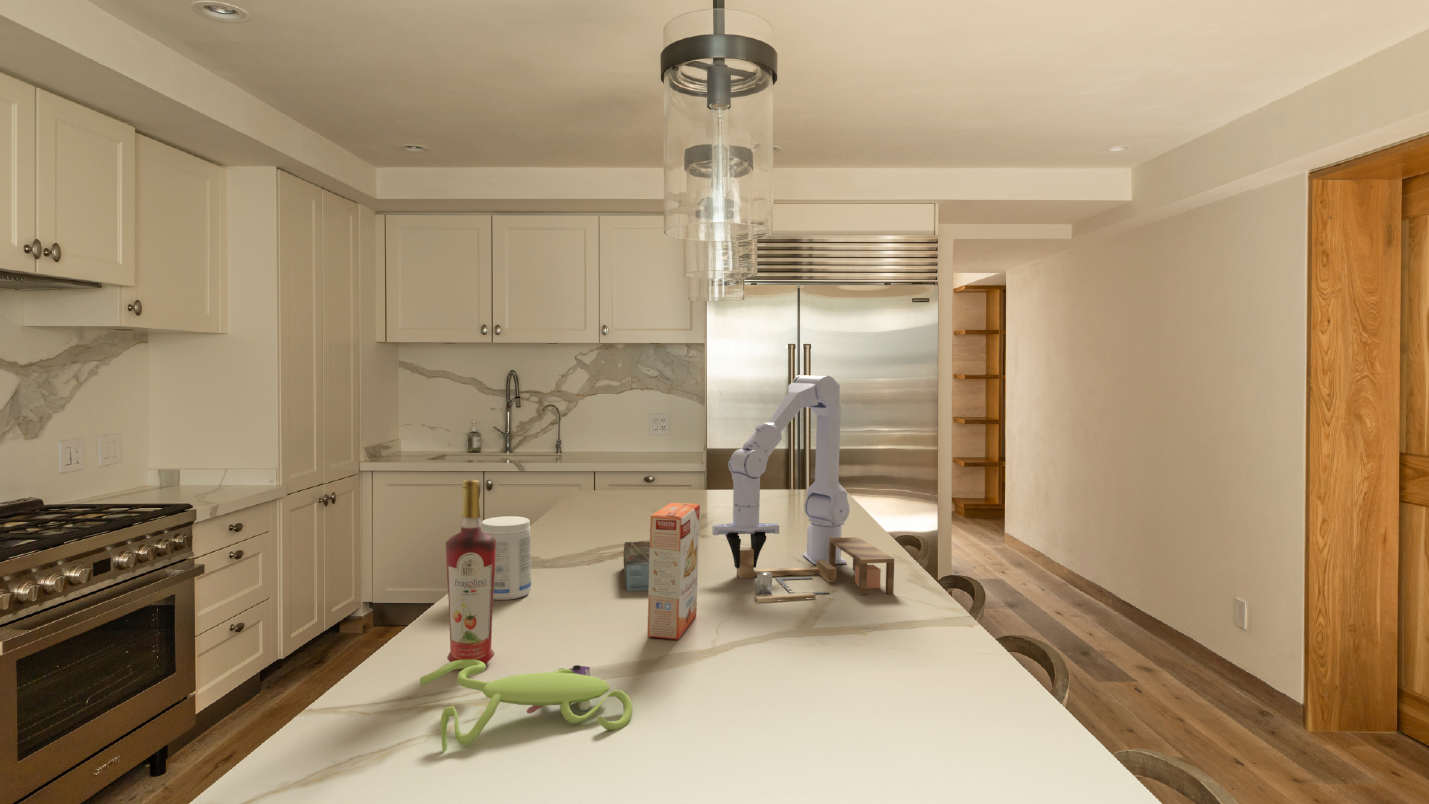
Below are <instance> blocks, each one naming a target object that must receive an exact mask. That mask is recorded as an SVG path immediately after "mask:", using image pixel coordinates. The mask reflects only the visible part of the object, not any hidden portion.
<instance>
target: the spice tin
mask: <svg viewBox="0 0 1429 804" xmlns="http://www.w3.org/2000/svg"><path fill="white" fill-rule="evenodd" d="M757 593H758V595H759V594H771V595H773V576H772V573H770V572H758V573H757V577H756V594H757Z"/></svg>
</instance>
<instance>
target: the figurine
mask: <svg viewBox="0 0 1429 804" xmlns="http://www.w3.org/2000/svg"><path fill="white" fill-rule="evenodd" d="M462 668H465V669H462ZM486 668H487V664H486V665H485V664H484V663H483V662H481V661H478V660H457V661H452V662H450V661H449V662H448V663H446V664H445V665H444V666H442V667H440V668H438V669H436V670H435V671H431V672H430V673H428V674H425V675H423V676H420V677H419V679H420V680H419V686H420V687H422V686H425V685H427V684H430V683H433V682H434V681H436V680H437V679H439V678H440V677H442V676H445V675H447V674H448V673H449V672H451V671H454V670H460V671H459V672H458V673H457V677H456V681H457V683H458V685H459V686H461V687H464V688H466V689H471V690H476V691H480V692H482V693H483V694H484V696H485V697H486V698H489V699H490V700H489V701H488V704H487V705H486V708H485V710H484V711H483V712H482V713H481V714H480V716H479V718H478V719H477V721H476V722H475V724H474V725H473V727H472V729H470V731H468V733H462V732H461V730H460V724H459V717H458V716H459V715H458V712H457V710H456V708H455V707H454V705H452V706H447V707H444V708H443V711H442V713H441V717H440V734H441V735H440V736H441V737H440V738H441V744H442V745H441V749H442V753H443V754H444V753H445V752H447V750H448V740H447V733H448V732H447V731H448V729H447V728H448V722H449V719H450V717H454V739H456V741H457V742H458V743H459V745H460V746H463V745H468V744H472V742H474V741H475V740H476V739H477V738H478V737H479V736H480V734H481V733H482V731H483V730H484V728H485V727H486V725H487V724H488V722H490V720H491V719H492V717H493V716H494V714H495V712H496V710H497V708H498V706H499V704H500V703H507V704H512V705H519V706H530V707H528V708H526V709H527V710H526V713H527V714H532V713H534V712H536V711H537V710H539V709H541V708H542V707H545V706H547V707H548V706H559V707H560V708H559V709H560V713H561V715H562V716H563V718H564V719H565V721H567V722H569V723H571V724H578V723H581V722H584V721H585V720H586V719H588V718H589V717H591V716H592V715H594V713H596V712H597V710H598V709H600V707H602V705H603V704H604V701H606V699H607V698H608V697H615V698H616V699H618V700H619V701H620V702H621V704H622V706H623V707H622V708H623V714H622V716H621V717H620V718H619V719H618V720H615V721H611V720H607V719H606V718H605V717H603V716H602V715H599V716H598V717H597V723H598V724H599V726H601V727H602V728H603V729H605V730H608V731H609V730H610V731H616V730H619V729H621V728H624V727H625V726H627V725H628V724H629V723H630V721H631V719H632V717H633V711H634V710H633V704H632V701H631V699H630V697H629V696H628V694H627V693H625V692H624V691H623V690H617V689H614V690H613V691H611V692H609V691H610V688H611V687H610V684H609V683H608V681H606V680H604V679H602V678H599V677H596V676H592V675H590V674H591V672H590V671H591V670H590V666H585V665H578V664H575V665H572V667H570V668H562V667H561V668H558V670H557V669H556V670H555V671H550V672H531V673H523V674H515V675H509V676H507V677H502V678H498V679H495V680H493V681H483V680H479V679H473V678H469V677H470V676H472V675H477V674H481V673H483V672H484V671H485V670H486ZM608 692H609V693H608ZM606 693H608V694H607V695H605V694H606ZM604 695H605V697H603V698H602V699H601V700H600V701H599V702H598V703H597V704H596V705H595V706H594V707H593V708H591V709H590V710H589V708H590V706H591V700H593V699H597V698H600V697H602V696H604ZM577 703H578V708H579V709H580V710H581V711H583V712H586V711H587V710H589V711H588V712H587V713H585V714H583V715H580V716H579V715H577V714H574V713H573V712H572V710H571V708H570V706H571V705H572V704H577Z"/></svg>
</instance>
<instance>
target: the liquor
mask: <svg viewBox="0 0 1429 804" xmlns="http://www.w3.org/2000/svg"><path fill="white" fill-rule="evenodd" d="M461 495H462V500H463V501H462V502H463V503H462V504H463V505H462V515H461V525H460V532H458V533H456V534H454V535H452V536H451V537H449V538H448V539H447V540H446V541H445V554H446V555H445V557H446V558H445V560H446V561H445V562H446V580H447V582H446V583H447V595H448V596H447V599H448V616H449V620H448V621H449V649H450V650H449V653H448V655H447V657H446V660H447V661H449V663H450V662H452V661H457V660H478V661H481V662H483V663H484V664H485V665H486V666H487V664H488V663H489V662H490V660H492V658H493V657H494V656H495V652H494V651H493V649H492V638H493V637H492V632H493V631H492V630H493V629H492V628H493V607H494V606H493V605H494V604H493V603H494V599H493V592H494V577H495V555H496V539H494V538H493V537H492V536H491V535H489V534H487V533H484V532H482V531H481V523H482V519H481V512H480V511H481V510H480V498H481V497H480V495H481V480H480V479H479V480H478V479H466V480H462V481H461ZM463 669H465V668H462V669H461V670H463Z"/></svg>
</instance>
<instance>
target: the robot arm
mask: <svg viewBox="0 0 1429 804" xmlns="http://www.w3.org/2000/svg"><path fill="white" fill-rule="evenodd" d="M840 387H841V386H840V384H839V383H838V381H836V379H835V378H834V377H833V376H830V375H805V374H799V375H796V376H795V377H794V378H793V380H792V382H791V383H790V384H788V385H787V394H786V396H785V397H784V398H783V400H782V402H781V403H780V404H779V406H778V407H777V409H776V410H775V412H774V414H773V415H772V417H771V418H769V419H770V420H769V421H768V422H762V423H760V424H757V425H756V426H755V429H754V430H755V431H754V432H753V434H752V435H751V436H750V437H749V438H748V440H747V441H745V442H744V444H743V446H742V447H741V448H739V449H736V450H735V451H734V452H733V453H732V454H731V456H730V457H729V461H727V466H728V470H729V471H730V473H731V480H732V482H733V484H732V486H733V487H732V488H733V491H732V493H733V494H732V499H733V500H732V522H731V523H720V524H712V525H711V527H712V528H711V534H712V536H719V535H725V538H726V540H727V542H728V545H729V548H730V550H731V553H732V558H733V563H734V564H733V565H734V567H735V569H737V568H740V547H741V542H742V540H741V538H740V535H748V534H749V535H750V547H751V548H752V549H753V550H754V569H757V564H758V558H759V556H760V553H761V551H762V548H763V547H764V544H766V543H765V542H766V541H767V534H774V535H779V534H780V524H778V523H773V522H772V523H771V522H769V523H768V522H760V495H761V494H760V491H761V489H760V488H761V475H763V474H764V473H765V472H766V470H767V464H768V461H769V457H770V456H771V455H772V453H773V451H774V450H775V449H776V448H777V446H778V445H779V444H780V442H781V441H782V439H783V436H782V431H783V430H784V429H785V428H786V427H787V426H788V424H789V423H790V422H791V420H793V419H794V417H796V415H797V414H798V413H799V412H800V411H801V409H804V408H810V410H811V411H812V412H813V413H814V414H815V415H816V438H815V439H816V440H815V442H816V443H815V466H814V467H815V468H814V469H815V471H814V482H813V483H812V484H811V485H809V486H808V487H807V493H806V497H805V500H804V504H803V505H804V506H803V509H804V510H803V511H804V514H805V515H806V516H807V517H808V522H810V523H809V524H808V527H807V530H806V552H804V553H803V552H802V556H803V557H804V558H806V559H807V560H808V561H809V562H810V563H812V564H813V565H816V566H817V560H825V561H827V562H828V563H829V538H842V534H843V533H842V531H843V530H842V529H843V528H842V527H843V525H845V523H846V521H847V519H848V518H849V515H850V510H851V509H850V504H849V501H848V492H847V490H846V489H845V488H844V487H843V486H842V485H841V484H840V482H839V479H840V477H839V475H840V474H839V473H840V471H839V470H840V448H841V447H840V443H841V442H840V441H841V418H842V417H841V416H842V415H841V414H842V413H841V412H842V409H841V403H840V393H841V392H840V389H841V388H840ZM837 564H838V565H839V564H841V565H842V564H845V565H846V564H848V561H847V560H846V559H844V558H843V557H842V550H841V549H839V548H838V547H836V560H835V565H837Z"/></svg>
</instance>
